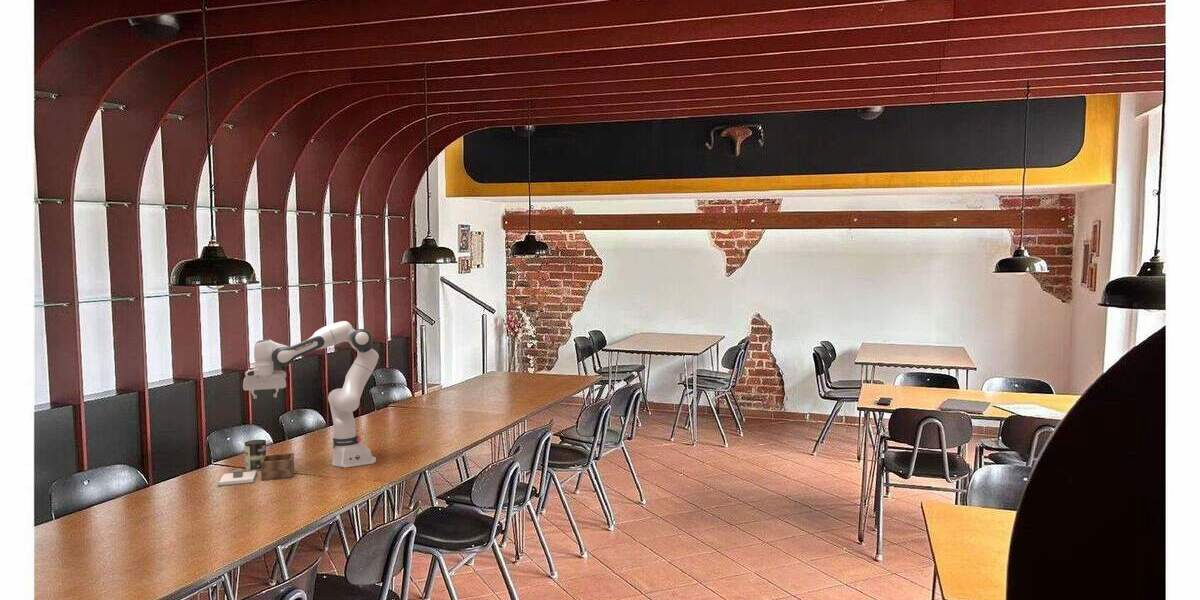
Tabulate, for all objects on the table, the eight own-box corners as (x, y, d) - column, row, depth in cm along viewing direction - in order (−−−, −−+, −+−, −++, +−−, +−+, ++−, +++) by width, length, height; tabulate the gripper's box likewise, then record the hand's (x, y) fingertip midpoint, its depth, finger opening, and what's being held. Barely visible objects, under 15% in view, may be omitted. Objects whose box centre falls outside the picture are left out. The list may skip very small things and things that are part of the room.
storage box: (294, 470, 394) (293, 453, 394) (292, 477, 381) (291, 459, 380) (264, 473, 390) (263, 455, 389) (261, 480, 377) (260, 462, 376)
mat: (257, 474, 388) (257, 473, 388) (254, 483, 373) (254, 482, 373) (222, 477, 383) (222, 476, 383) (217, 486, 368) (217, 485, 368)
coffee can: (271, 466, 403) (270, 439, 402) (258, 471, 393) (257, 444, 392) (253, 465, 405) (252, 439, 404) (241, 470, 395) (239, 443, 394)
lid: (256, 473, 387) (256, 465, 387) (253, 482, 373) (252, 472, 373) (223, 476, 383) (223, 467, 383) (219, 485, 369) (218, 476, 368)
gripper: (286, 369, 400) (287, 395, 401) (243, 371, 394) (244, 398, 395) (285, 370, 394) (286, 397, 395) (241, 373, 388) (242, 400, 389)
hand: (265, 398), depth 395 cm, fingers open, 8 cm apart
